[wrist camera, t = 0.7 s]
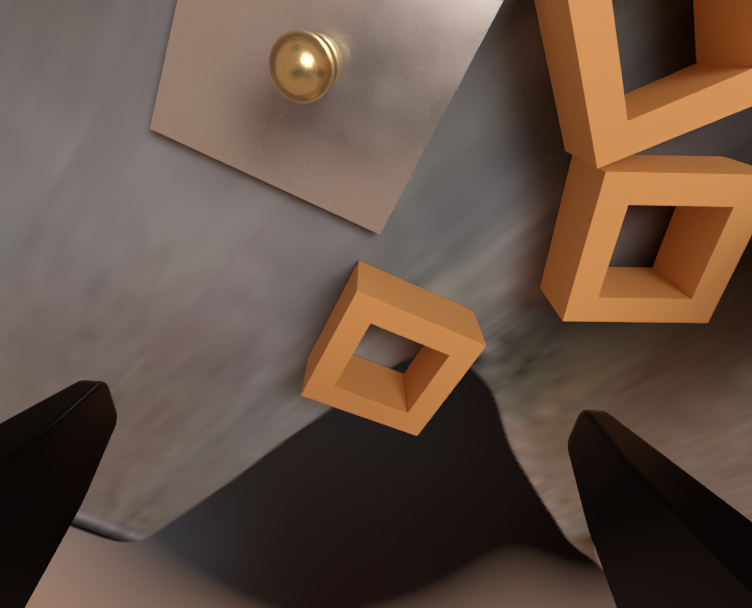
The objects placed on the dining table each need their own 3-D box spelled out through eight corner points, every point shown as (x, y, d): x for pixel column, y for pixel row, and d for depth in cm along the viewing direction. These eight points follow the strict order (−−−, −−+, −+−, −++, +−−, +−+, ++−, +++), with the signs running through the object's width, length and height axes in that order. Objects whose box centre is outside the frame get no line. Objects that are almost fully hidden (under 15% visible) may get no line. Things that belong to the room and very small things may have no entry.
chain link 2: (723, 156, 18) (781, 175, 16) (667, 289, 22) (707, 323, 19) (572, 153, 18) (606, 171, 16) (539, 287, 21) (562, 321, 19)
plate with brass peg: (506, -14, 15) (574, -41, 10) (379, 229, 20) (382, 293, 15) (227, -198, 13) (135, -354, 8) (156, 126, 17) (68, 159, 12)
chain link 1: (727, -126, 14) (809, -165, 11) (730, 81, 17) (796, 88, 14) (528, -25, 15) (561, -39, 13) (565, 150, 18) (597, 168, 16)
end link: (473, 310, 22) (486, 345, 20) (412, 395, 25) (417, 435, 22) (358, 260, 21) (357, 290, 18) (308, 356, 24) (300, 395, 21)
